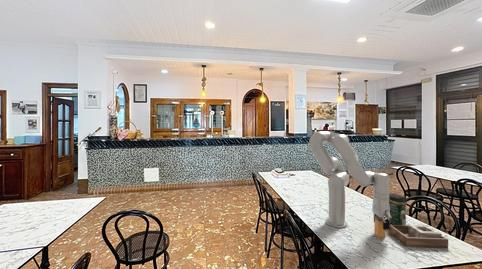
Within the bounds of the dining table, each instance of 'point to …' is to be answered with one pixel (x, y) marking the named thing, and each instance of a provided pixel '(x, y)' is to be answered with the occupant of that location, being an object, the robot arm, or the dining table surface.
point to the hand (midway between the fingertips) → (381, 225)
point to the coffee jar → (397, 209)
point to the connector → (379, 227)
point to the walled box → (418, 236)
